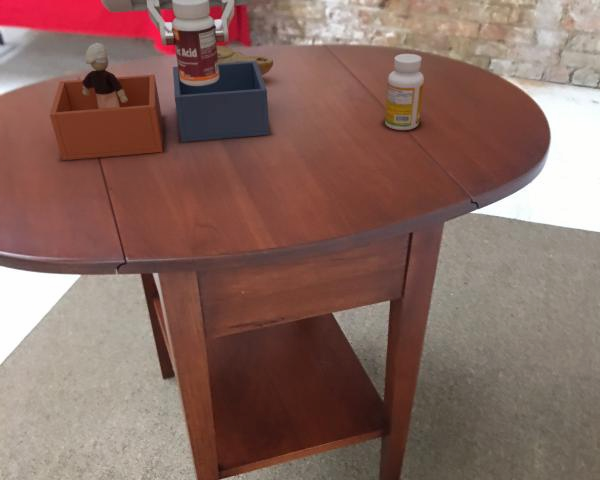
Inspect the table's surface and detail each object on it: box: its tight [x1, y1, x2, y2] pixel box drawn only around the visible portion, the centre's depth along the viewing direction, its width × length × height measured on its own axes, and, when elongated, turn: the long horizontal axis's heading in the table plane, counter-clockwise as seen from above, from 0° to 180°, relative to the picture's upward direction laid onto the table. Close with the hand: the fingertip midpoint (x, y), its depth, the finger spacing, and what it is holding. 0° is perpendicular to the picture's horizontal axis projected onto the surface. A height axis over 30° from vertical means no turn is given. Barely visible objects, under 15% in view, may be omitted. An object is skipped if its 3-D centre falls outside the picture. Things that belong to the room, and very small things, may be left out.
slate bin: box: [172, 61, 270, 143], centre depth 100 cm, size 14×14×7 cm
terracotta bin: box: [49, 74, 164, 161], centre depth 96 cm, size 15×14×7 cm
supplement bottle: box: [384, 53, 425, 131], centre depth 97 cm, size 5×5×10 cm
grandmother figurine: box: [82, 42, 128, 109], centre depth 94 cm, size 8×4×13 cm, turn 78°
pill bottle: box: [172, 0, 219, 86], centre depth 73 cm, size 5×5×8 cm
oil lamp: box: [216, 44, 274, 76], centre depth 114 cm, size 11×14×5 cm
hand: (195, 40), depth 72 cm, fingers closed on pill bottle, 5 cm apart
